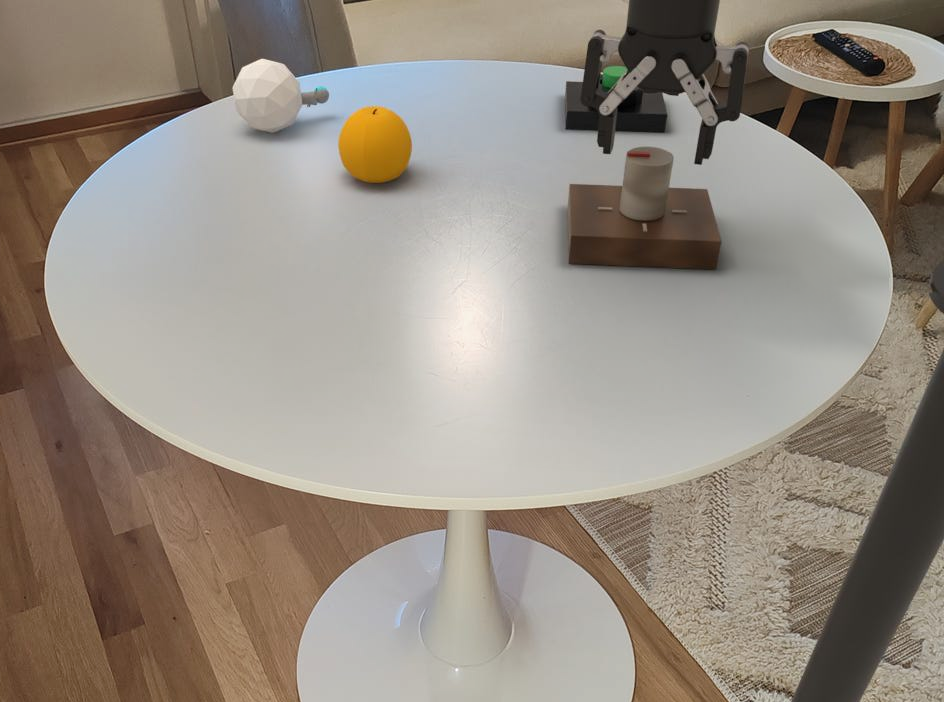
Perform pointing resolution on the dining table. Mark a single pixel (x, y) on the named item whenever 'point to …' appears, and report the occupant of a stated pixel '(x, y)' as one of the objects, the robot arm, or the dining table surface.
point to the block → (631, 114)
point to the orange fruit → (375, 145)
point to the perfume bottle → (271, 95)
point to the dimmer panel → (641, 230)
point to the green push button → (612, 75)
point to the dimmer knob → (646, 183)
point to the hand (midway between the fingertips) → (653, 156)
